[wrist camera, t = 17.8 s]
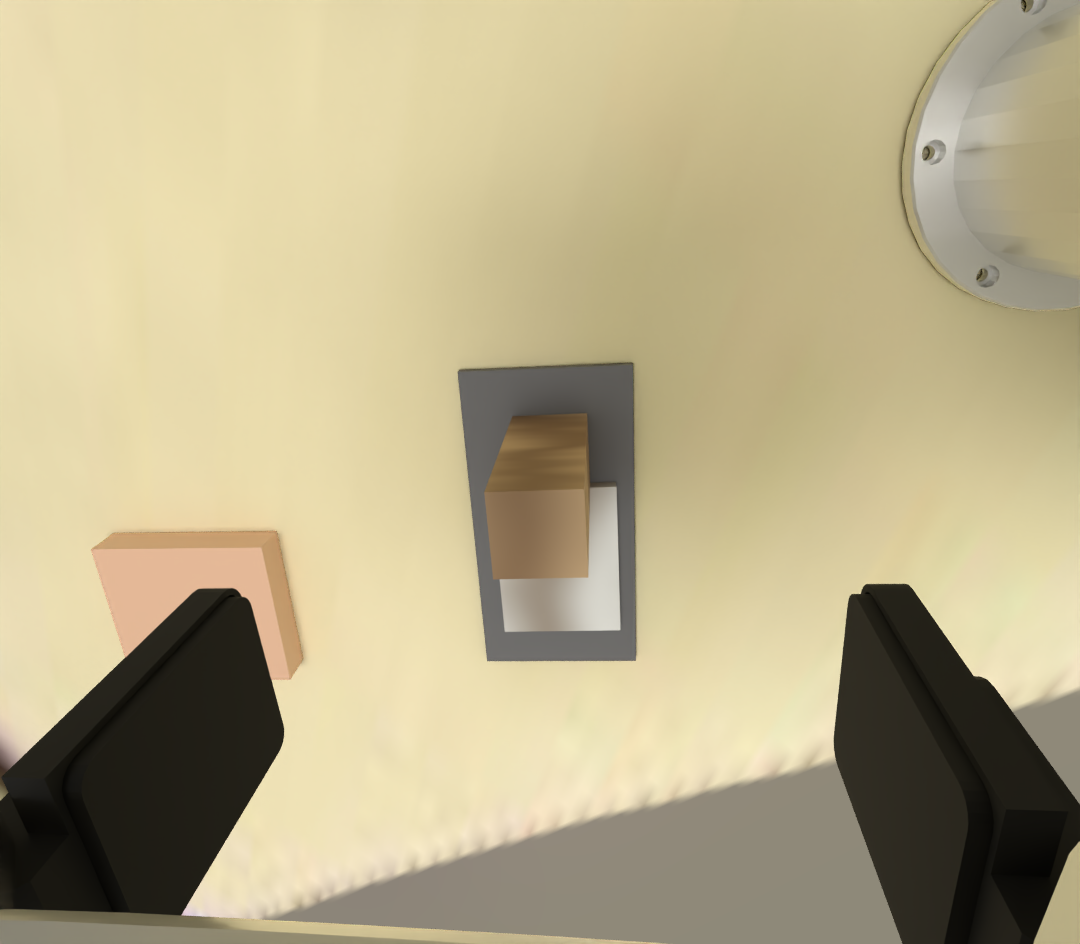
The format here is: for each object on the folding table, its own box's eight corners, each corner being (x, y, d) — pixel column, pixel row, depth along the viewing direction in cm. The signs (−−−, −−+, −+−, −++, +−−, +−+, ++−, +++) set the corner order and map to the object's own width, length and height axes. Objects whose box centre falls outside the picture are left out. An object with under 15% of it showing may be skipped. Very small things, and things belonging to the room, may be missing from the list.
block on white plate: (614, 411, 33) (620, 487, 24) (620, 623, 37) (627, 750, 29) (485, 417, 33) (449, 493, 25) (506, 625, 37) (480, 750, 29)
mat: (632, 362, 32) (632, 365, 32) (635, 656, 38) (635, 660, 38) (459, 369, 33) (457, 371, 33) (488, 656, 39) (487, 661, 38)
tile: (261, 547, 35) (290, 679, 38) (280, 527, 37) (306, 654, 40) (90, 549, 36) (132, 678, 39) (118, 529, 38) (155, 653, 41)
